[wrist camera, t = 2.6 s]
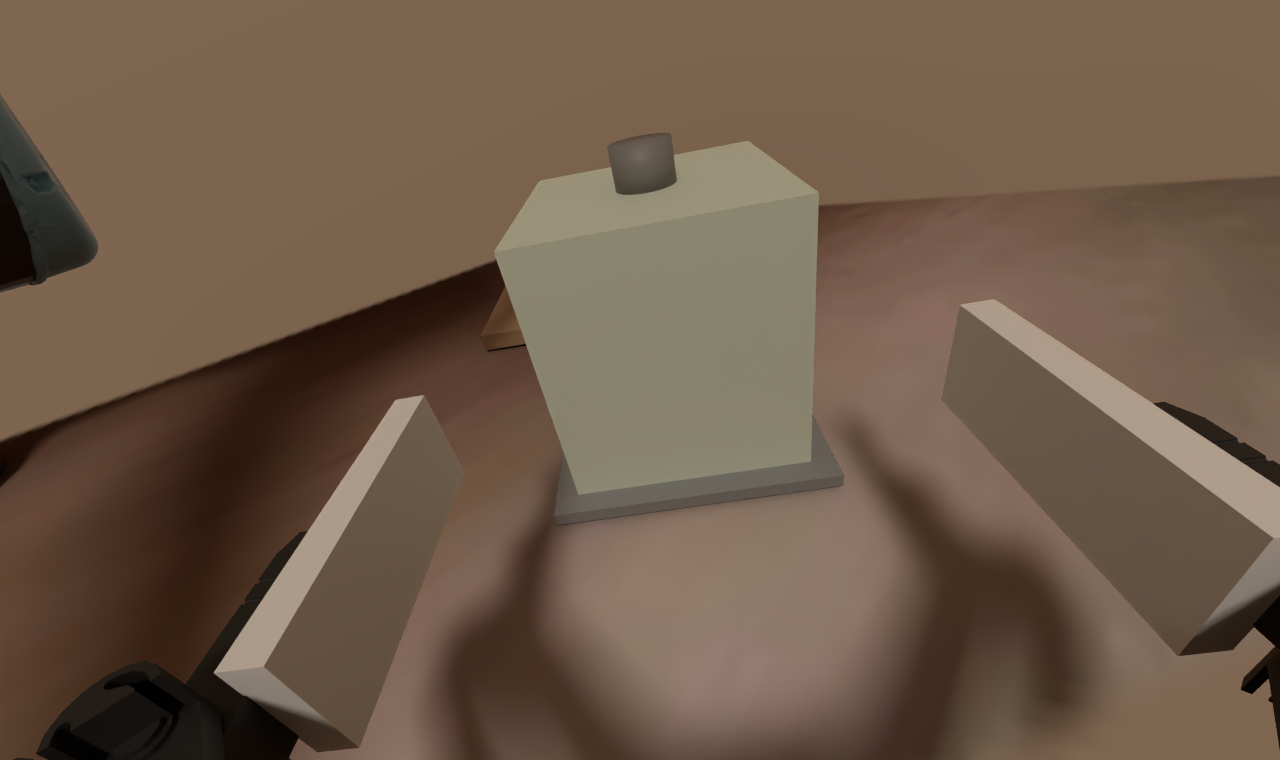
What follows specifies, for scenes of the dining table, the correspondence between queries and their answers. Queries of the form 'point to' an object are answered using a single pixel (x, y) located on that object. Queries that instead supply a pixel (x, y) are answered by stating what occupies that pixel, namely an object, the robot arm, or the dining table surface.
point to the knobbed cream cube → (670, 311)
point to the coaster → (699, 488)
